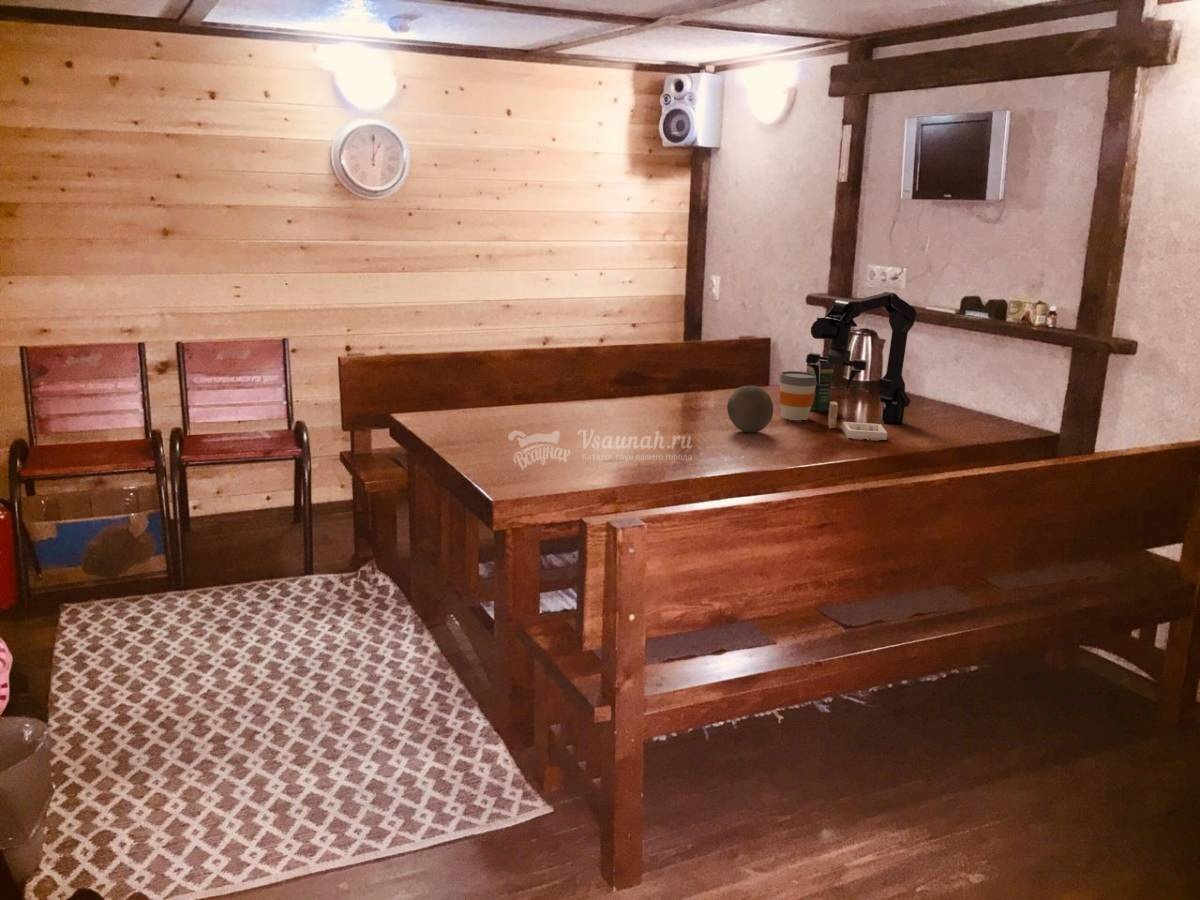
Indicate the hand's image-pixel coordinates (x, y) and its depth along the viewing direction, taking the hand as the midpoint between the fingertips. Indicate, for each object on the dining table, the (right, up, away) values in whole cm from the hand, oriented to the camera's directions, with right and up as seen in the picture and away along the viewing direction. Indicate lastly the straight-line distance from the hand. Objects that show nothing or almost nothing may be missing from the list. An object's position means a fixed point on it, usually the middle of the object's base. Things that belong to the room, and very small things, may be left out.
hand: (832, 388), depth 319 cm
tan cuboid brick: (+1, -12, +6) cm, 14 cm away
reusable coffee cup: (-9, -9, +16) cm, 21 cm away
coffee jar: (+2, -6, +32) cm, 33 cm away
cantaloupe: (-28, -15, -7) cm, 33 cm away
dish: (+9, -15, -4) cm, 18 cm away
